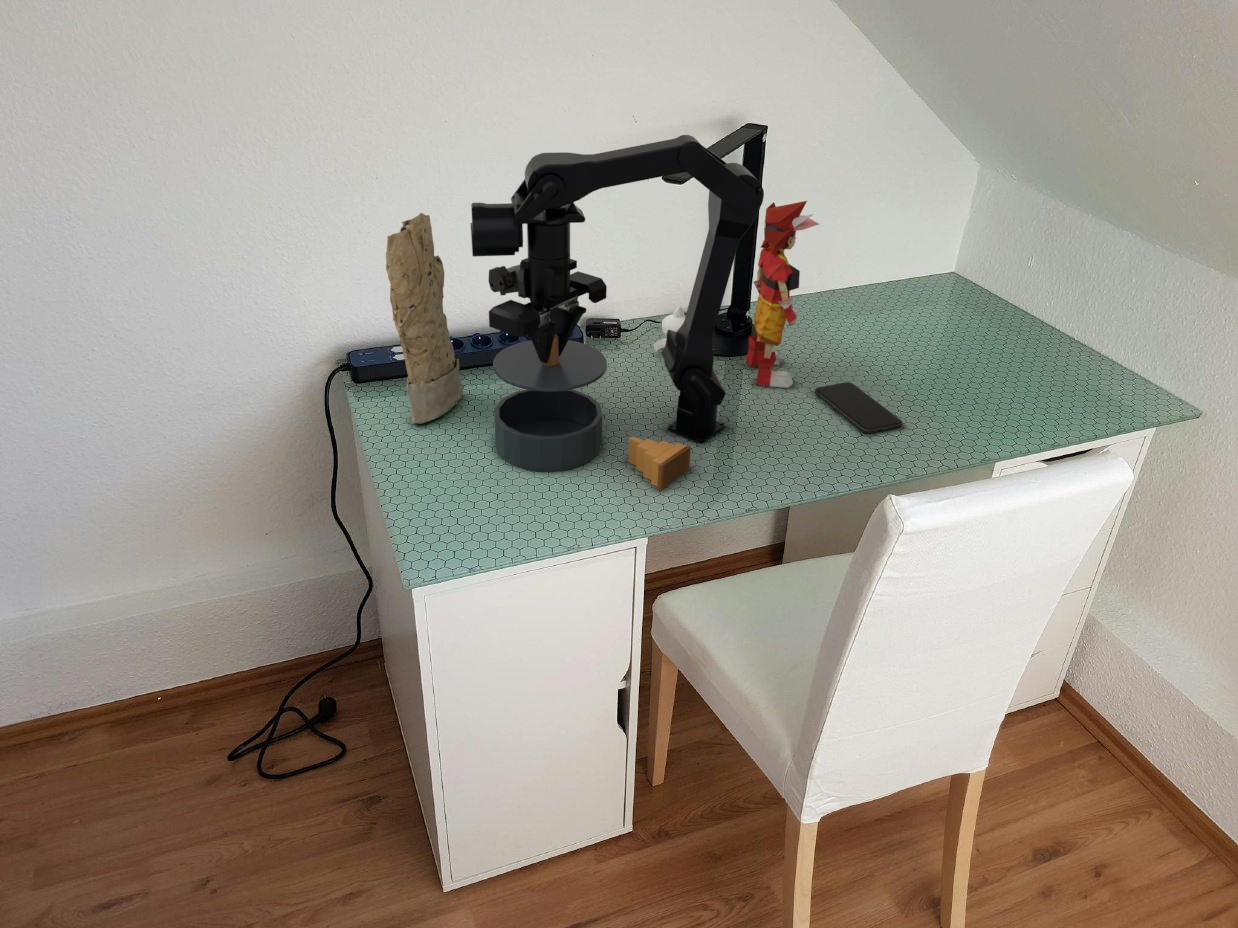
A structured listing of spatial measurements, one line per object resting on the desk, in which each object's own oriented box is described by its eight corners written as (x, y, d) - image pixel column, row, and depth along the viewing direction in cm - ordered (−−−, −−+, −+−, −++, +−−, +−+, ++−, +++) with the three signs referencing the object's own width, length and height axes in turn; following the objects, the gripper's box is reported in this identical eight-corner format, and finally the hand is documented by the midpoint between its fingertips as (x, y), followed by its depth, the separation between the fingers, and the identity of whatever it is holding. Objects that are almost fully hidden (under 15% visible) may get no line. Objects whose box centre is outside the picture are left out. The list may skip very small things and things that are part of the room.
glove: (472, 420, 150) (461, 229, 135) (404, 429, 147) (384, 234, 132) (457, 381, 161) (445, 200, 146) (393, 388, 158) (374, 205, 143)
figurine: (708, 376, 165) (713, 315, 160) (684, 383, 163) (688, 321, 157) (667, 350, 174) (671, 291, 168) (644, 356, 172) (646, 296, 166)
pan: (544, 409, 154) (543, 377, 151) (621, 441, 146) (623, 408, 143) (473, 447, 144) (472, 413, 141) (553, 484, 136) (553, 449, 133)
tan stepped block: (689, 470, 140) (691, 446, 138) (660, 490, 135) (662, 466, 133) (644, 451, 144) (645, 427, 142) (614, 470, 139) (615, 446, 137)
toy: (811, 385, 163) (837, 207, 148) (764, 393, 161) (785, 212, 145) (776, 356, 173) (796, 185, 157) (730, 363, 170) (747, 190, 154)
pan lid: (544, 336, 150) (544, 305, 148) (629, 366, 142) (630, 334, 139) (469, 372, 139) (467, 339, 137) (556, 407, 131) (556, 372, 128)
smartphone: (904, 427, 152) (849, 385, 164) (905, 422, 152) (850, 380, 163) (864, 435, 149) (811, 392, 161) (865, 430, 149) (812, 387, 161)
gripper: (549, 224, 142) (550, 324, 150) (456, 257, 129) (462, 364, 138) (609, 241, 137) (607, 344, 145) (518, 277, 124) (522, 388, 132)
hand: (550, 359), depth 140 cm, fingers closed on pan lid, 2 cm apart
